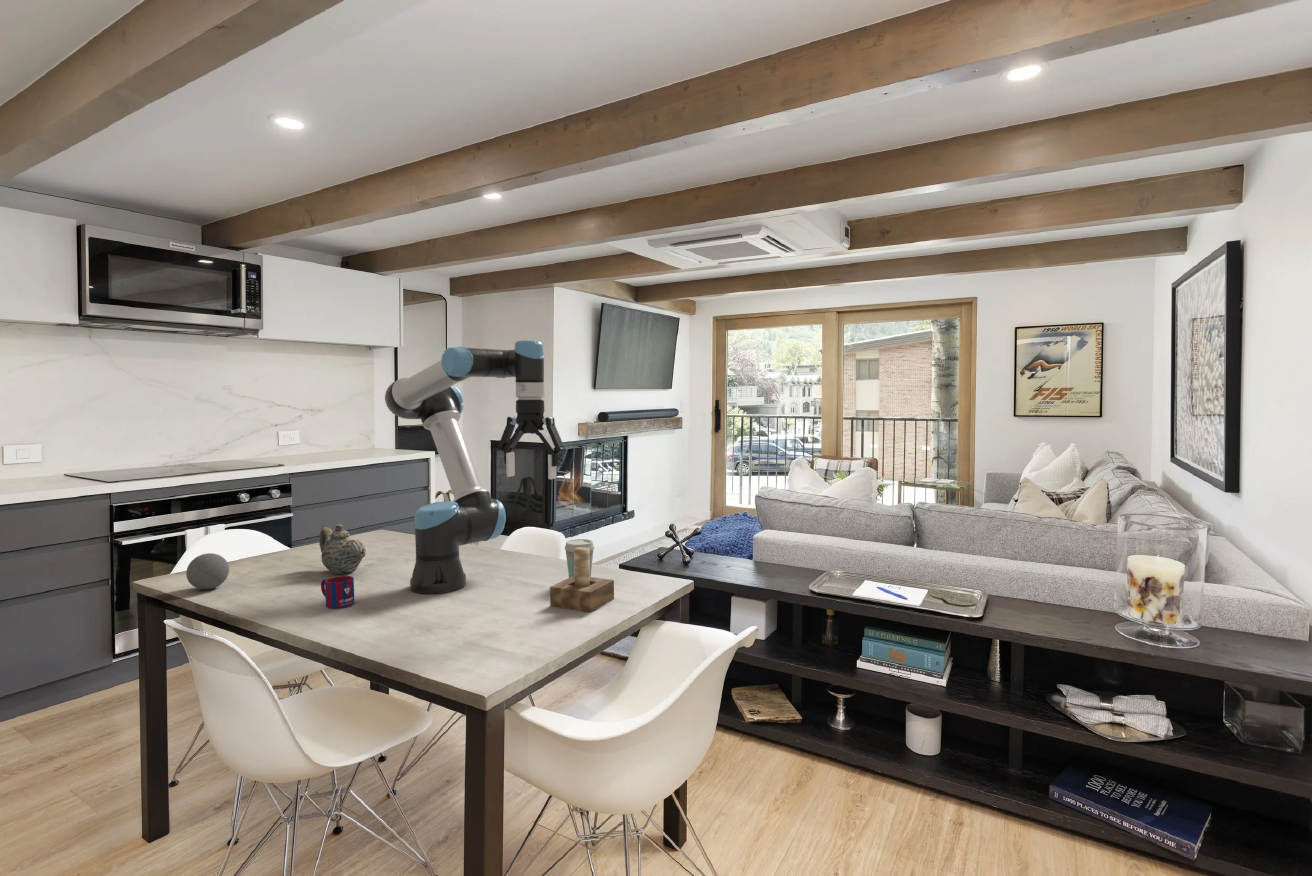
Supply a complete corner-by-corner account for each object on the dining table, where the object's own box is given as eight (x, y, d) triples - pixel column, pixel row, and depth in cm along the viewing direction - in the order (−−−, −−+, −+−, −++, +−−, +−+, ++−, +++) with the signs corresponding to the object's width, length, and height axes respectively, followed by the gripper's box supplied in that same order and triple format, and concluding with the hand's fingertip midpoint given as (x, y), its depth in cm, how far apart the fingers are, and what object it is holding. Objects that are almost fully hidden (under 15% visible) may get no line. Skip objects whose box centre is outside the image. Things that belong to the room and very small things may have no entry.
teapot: (379, 572, 203) (377, 523, 202) (344, 581, 193) (342, 530, 192) (338, 563, 214) (336, 517, 213) (303, 571, 205) (301, 523, 204)
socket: (550, 605, 169) (549, 586, 169) (575, 593, 180) (575, 575, 180) (590, 612, 164) (590, 592, 164) (614, 598, 175) (613, 580, 175)
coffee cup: (589, 588, 185) (589, 545, 184) (560, 586, 186) (560, 544, 186) (598, 579, 193) (598, 539, 192) (570, 578, 195) (570, 538, 194)
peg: (571, 603, 171) (571, 550, 170) (579, 599, 175) (579, 546, 174) (585, 605, 169) (584, 551, 168) (593, 601, 173) (592, 548, 172)
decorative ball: (209, 582, 192) (207, 548, 192) (238, 584, 190) (236, 550, 190) (178, 593, 182) (176, 557, 182) (208, 595, 180) (206, 558, 180)
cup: (335, 610, 166) (334, 584, 166) (313, 604, 172) (312, 578, 171) (359, 603, 172) (359, 577, 172) (337, 597, 177) (336, 572, 177)
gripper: (483, 398, 179) (485, 476, 181) (561, 398, 169) (562, 481, 170) (501, 398, 186) (502, 473, 188) (577, 398, 176) (578, 478, 177)
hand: (531, 477), depth 179 cm, fingers open, 13 cm apart
